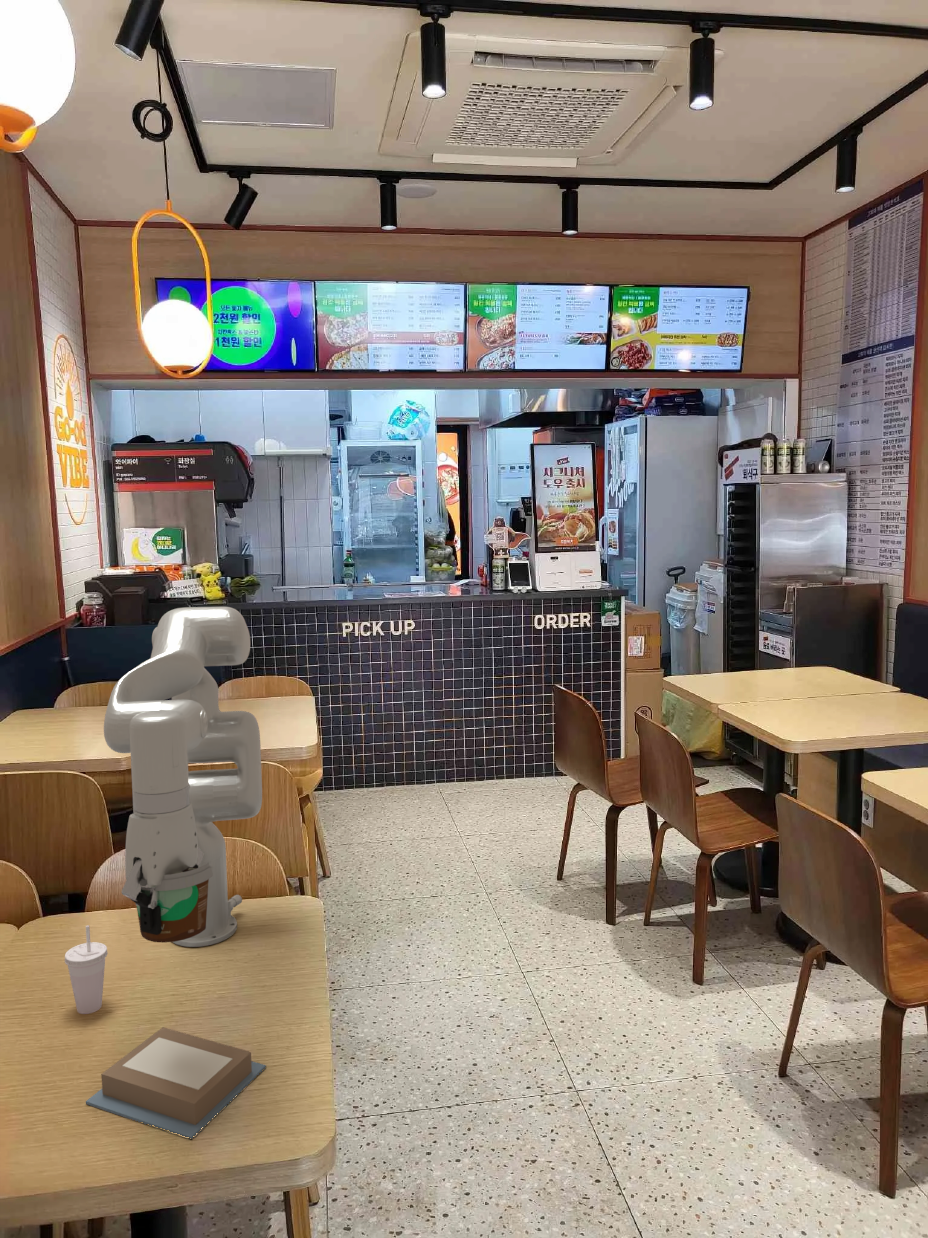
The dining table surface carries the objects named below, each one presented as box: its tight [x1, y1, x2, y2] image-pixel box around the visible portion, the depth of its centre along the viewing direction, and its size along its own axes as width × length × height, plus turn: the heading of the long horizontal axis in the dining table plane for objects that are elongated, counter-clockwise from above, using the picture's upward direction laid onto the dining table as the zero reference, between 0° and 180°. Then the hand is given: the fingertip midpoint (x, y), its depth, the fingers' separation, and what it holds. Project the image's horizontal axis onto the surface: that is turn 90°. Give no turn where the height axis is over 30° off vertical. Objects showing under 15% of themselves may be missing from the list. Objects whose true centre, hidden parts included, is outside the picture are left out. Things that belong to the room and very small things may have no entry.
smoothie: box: [64, 925, 108, 1015], centre depth 142 cm, size 6×6×14 cm
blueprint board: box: [85, 1026, 267, 1140], centre depth 123 cm, size 16×18×4 cm
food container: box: [136, 862, 213, 943], centre depth 124 cm, size 12×6×10 cm, turn 80°
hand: (167, 921), depth 125 cm, fingers closed on food container, 5 cm apart
